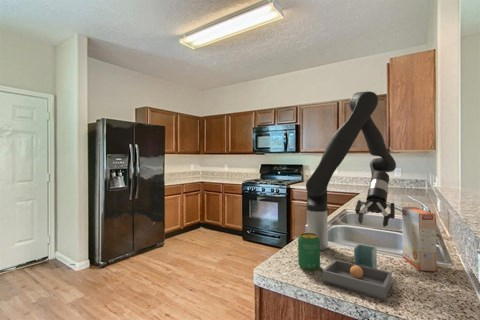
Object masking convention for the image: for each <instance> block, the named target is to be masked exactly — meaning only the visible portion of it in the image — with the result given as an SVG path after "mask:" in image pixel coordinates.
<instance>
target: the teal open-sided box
mask: <svg viewBox="0 0 480 320" xmlns="http://www.w3.org/2000/svg"><path fill="white" fill-rule="evenodd" d="M353 251H354V252H353V254H354V255H353V256H354V259H353V260H354V262H353V264H357V265H361V266H365V267H370V268H374V269H378V266H377V265H378V263H377V262H378V261H377V259H378V258H377V256H378V255H377V253H378V252H377V246H369V245H366V244H357V245H356V246H355V247H354V248H353Z"/></svg>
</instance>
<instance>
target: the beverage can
mask: <svg viewBox="0 0 480 320" xmlns="http://www.w3.org/2000/svg"><path fill="white" fill-rule="evenodd" d="M297 253H298V254H297V255H298V256H297V258H298V266H299V268H300V269H301V268H302V270H303V269H304V270H303V271H307V270H308V271H307V272H314V271H315V270H316V271H319V269H320V267H321V250H320V239H319V237H318V235H317V234H314V233H305V232H302V233H299V236H298V238H297Z"/></svg>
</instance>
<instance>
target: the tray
mask: <svg viewBox="0 0 480 320" xmlns="http://www.w3.org/2000/svg"><path fill="white" fill-rule="evenodd" d="M355 265H356V266H359V267H361V269H362V270H363V276H362V277H361V278H359V279H357V278H354V277H353V276H352V275H351V273H350V268H351V267H352V266H355ZM322 283H323V284H325V285H328V286H332V287H335V288H338V289H342V290H344V291H349V292H352V293H355V294H359V295H362V296H365V297H369V298H372V299H376V300H379V301H382V302H387V299H388V296H389V293H390V291H391V289H392V286H393V272H391V271H387V270H382V269H378V268H377V269H374V268H370V267H365V266H361V265H357V264H354V263H352V262H348V261H347V262H346V261H342V260H339V259H338V260H337V259H334V260H333V261H331V263H329V265H327V266H326V267H325V268H324V269H323V270H322Z"/></svg>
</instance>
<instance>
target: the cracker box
mask: <svg viewBox="0 0 480 320" xmlns="http://www.w3.org/2000/svg"><path fill="white" fill-rule="evenodd" d="M401 208H402V209H401V215H402V217H401V218H402V219H401V220H402V222H401V223H402V224H401V225H402V226H401V227H402V231H401V232H402V257H403V258H404V259H405V260H406V261H407V262H409V263H410V264H411V265H412V266H413V267H415V268H416V269H417V270H418V271H421V272H423V271H424V272H435V273H437V222H436V221H437V214H436V213H433V212H430V211H428V210H426V209H423V208H419V207H416V206H415V207H414V206H403V207H401Z"/></svg>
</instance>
